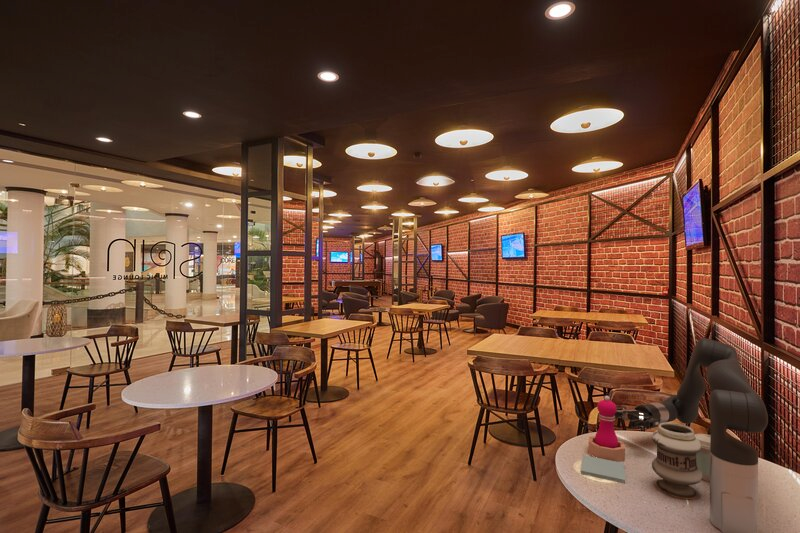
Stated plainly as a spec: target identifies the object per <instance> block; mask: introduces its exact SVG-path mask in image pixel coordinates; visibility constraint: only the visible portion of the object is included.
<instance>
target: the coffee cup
mask: <svg viewBox="0 0 800 533" xmlns="http://www.w3.org/2000/svg"><path fill="white" fill-rule="evenodd" d="M694 435H695V437H696V438H697V439H698V440H699V441H700V443H701V450H700V451H699V452H697V453H696V463H697V467H698V468H699V469H700V471H701V473H702V479H701V480H703V481H706V482H709V483H710V441H711V434H707V433H696V434H695V433H694Z"/></svg>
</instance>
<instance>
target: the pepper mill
mask: <svg viewBox="0 0 800 533" xmlns="http://www.w3.org/2000/svg"><path fill="white" fill-rule="evenodd" d="M610 399H611V398H610V396H608V395H604V397H603V399H601V400H599V401H598V402H597V406H596V408H597V411H598V419H599V426H598V430H597V431H596V433H595V435H594V436H595V443H596V444H597V445H599V446H602V447H608V448H617V447H618V440H619V439H618V436H617V433H616V431H615V428H614V421H615V420H616V418H615V416H614V414H615V413H616V411H617V408H618V407H617V405H616V404H615V402H613V401H612V400H610Z"/></svg>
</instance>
